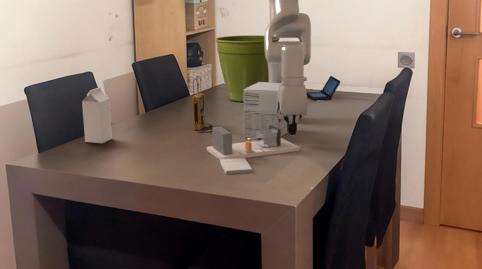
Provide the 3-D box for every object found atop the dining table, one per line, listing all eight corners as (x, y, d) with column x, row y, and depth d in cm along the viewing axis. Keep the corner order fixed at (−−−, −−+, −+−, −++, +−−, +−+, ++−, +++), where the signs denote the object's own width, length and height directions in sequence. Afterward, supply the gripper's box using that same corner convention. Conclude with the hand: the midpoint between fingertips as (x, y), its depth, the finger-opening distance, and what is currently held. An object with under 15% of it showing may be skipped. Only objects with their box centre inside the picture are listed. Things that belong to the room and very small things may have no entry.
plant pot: (280, 104, 285) (281, 40, 278) (215, 105, 286) (213, 41, 279) (278, 92, 314) (278, 34, 307) (218, 93, 315) (216, 35, 308)
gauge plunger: (271, 140, 219) (271, 125, 218) (284, 147, 210) (284, 131, 209) (243, 144, 215) (243, 128, 214) (255, 151, 207) (255, 135, 205)
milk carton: (112, 139, 231) (109, 87, 226) (102, 143, 224) (98, 91, 220) (95, 137, 233) (91, 86, 228) (84, 142, 227) (80, 90, 222)
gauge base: (281, 140, 225) (281, 118, 223) (299, 150, 212) (299, 126, 210) (206, 150, 214) (206, 126, 212) (221, 161, 202) (221, 136, 200)
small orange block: (248, 149, 208) (248, 140, 207) (251, 151, 205) (251, 142, 205) (245, 149, 207) (245, 141, 207) (248, 152, 205) (248, 143, 204)
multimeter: (216, 133, 236) (215, 80, 231) (190, 132, 238) (188, 80, 233) (225, 124, 250) (224, 74, 245) (200, 123, 252) (199, 73, 247)
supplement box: (278, 141, 224) (278, 91, 220) (243, 138, 229) (242, 89, 224) (291, 130, 240) (291, 82, 236) (258, 127, 245) (258, 81, 240)
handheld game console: (304, 95, 308) (304, 76, 305) (330, 94, 310) (331, 75, 307) (312, 101, 293) (312, 81, 290) (340, 100, 295) (341, 80, 292)
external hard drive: (225, 176, 189) (219, 163, 201) (252, 174, 190) (245, 162, 202) (225, 170, 189) (219, 158, 200) (252, 169, 190) (245, 157, 202)
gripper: (306, 78, 219) (306, 129, 224) (267, 81, 214) (267, 134, 219) (317, 81, 212) (316, 134, 217) (276, 85, 207) (276, 139, 212)
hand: (292, 134), depth 218 cm, fingers closed
